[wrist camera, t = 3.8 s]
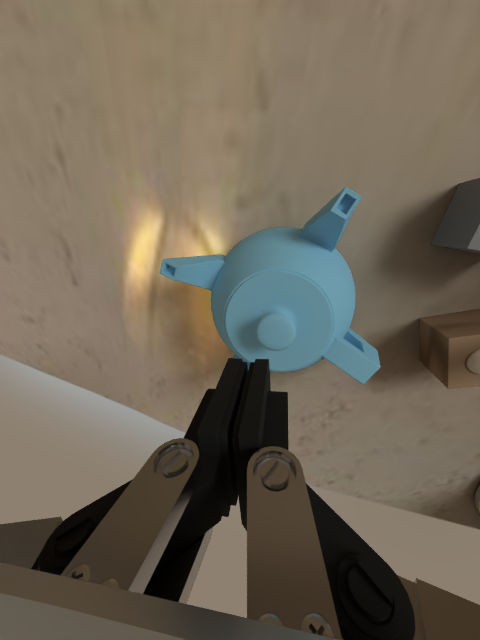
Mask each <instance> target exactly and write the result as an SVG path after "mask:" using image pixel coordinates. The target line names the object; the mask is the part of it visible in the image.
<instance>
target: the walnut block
mask: <svg viewBox="0 0 480 640" xmlns="http://www.w3.org/2000/svg"><path fill="white" fill-rule="evenodd" d="M419 329H420V361H421V362H422V363H423V364H424V365H425V366H426V367H427V368H428V369H429V370H430V371H431V372H432V373H433V374H434V375H435V376H436V377H437V378H438V379H439V380H440V381H441V382H442V383H443V384H444V385H445V386H446V387H447V388H448V389H451V388H463V387H476V386H480V310H479V309H478V310H471V311H464V312H458V313H451V314H444V315H437V316H431V317H424V318H419Z"/></svg>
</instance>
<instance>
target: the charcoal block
mask: <svg viewBox="0 0 480 640" xmlns="http://www.w3.org/2000/svg"><path fill="white" fill-rule="evenodd" d="M431 245H435V246H440V247H445V248H451V249H456V250H461V251H467V252H472V253H477V254H480V178H478V179H474V180H471V181H467V182H463V183H460V184H459V185H458V187H457V189H456V191H455V193H454V196H453V198H452V200H451V202H450V204H449V206H448V208H447V211H446V213H445V215H444V217H443V219H442V221H441V223H440V226H439V228H438V230H437V232H436V234H435V236H434V238H433V241H432V243H431Z"/></svg>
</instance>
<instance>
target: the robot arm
mask: <svg viewBox="0 0 480 640" xmlns="http://www.w3.org/2000/svg"><path fill="white" fill-rule="evenodd" d="M238 495H239V503H240V511H241V520H242V524H243V526H244V528H245V529H246V531H247V618H244V617H239V616H235V615H231V614H227V613H222V612H217V611H213V610H209V609H205V608H200V607H196V606H192V605H187V604H186V603H187V601H188V598H189V595H190V593H191V590H192V587H193V584H194V582H195V579H196V576H197V574H198V571H199V568H200V565H201V562H202V560H203V557H204V555H205V552H206V549H207V547H208V544H209V541H210V538H211V534H212V530H213V526H215V525H216V524H217V523H218V522H219V521H221V517H222V516H226V517H228V516H229V511H230V506H231V505H236V503H237V499H238ZM475 506H476V508H477V510H478V512H479V513H480V485H479V487H478V489H477V491H476V494H475ZM0 640H480V605H478V604H476V603H474V602H471V601H469V600H467V599H464V598H462V597H460V596H457V595H455V594H452V593H450V592H448V591H445V590H443V589H441V588H438V587H436V586H434V585H431V584H429V583H426V582H424V581H422V580H419V579H417V578H416V580H415V583H414V582H412V581H409V580H407V579H405V578H402V577H400V576H398V575H396V573H394V571H393V570H392V569H391V568H390V566H389V565H388V564H387V563H386V562H385V561H384V560H383V559H382V558H381V557H380V556H379V555H378V554H377V553H376V552H375V551H374V550H373V549H372V548H371V547H370V546H369V545H368V544H367V543H366V542H365V541H364V540H363V539H362V538H361V537H360V536H359V535H358V534H357V533H356V532H355V531H354V530H353V529H352V528H350V526H349V525H348V524H347V523H345V521H343V519H341V518H340V516H338V515H337V514H336V513H335V512H334V511H333V510H332V509H331V508H330V507H329V506H328V505H327V504H326V503H325V502H324V501H323V500H322V499H321V498H320V497H319V496H318V495H317V494H316V493H315V492H314V491H313V490H312V489H311V488H310V487H309V486H308V485H307V484H306V482H305V478H304V474H303V469H302V467H301V464H300V462H299V460H298V459H297V458H296V456H295V455H294V454H293V453H291V452H290V451H288V392H274V391H271V390H270V368H269V359H255V362H250V366H249V369H248V365H247V362H243V360H242V359H239V358H229V359H228V361H227V363H226V366H225V368H224V370H223V373H222V375H221V377H220V380H219V382H218V384H217V387H216V389H208V390H207V391H206V393H205V395H204V397H203V399H202V401H201V403H200V405H199V407H198V409H197V412H196V414H195V416H194V418H193V420H192V422H191V424H190V426H189V428H188V430H187V432H186V434H185V436H184V439H183V438H179V439H173V440H171V441H168V442H166V443H164V444H163V445H161V446H160V447H158V448H157V449H156V450H155V451H154V452H153V454H152V455H151V456H150V458H149V459H148V460H147V462H146V463H145V464H144V466H143V467H142V468H141V469H140V471H139V472H138V474H137V475H136V476H135V478H134V479H133V480H131V481H129V482H127V483H126V484H124V485H122V486H120V487H119V488H117V489H115V490H113V491H112V492H110V493H108V494H107V495H105V496H103V497H101V498H100V499H98V500H96V501H94V502H93V503H91V504H89V505H87V506H86V507H84V508H82V509H80V510H79V511H77V512H75V513H74V514H72V515H71V516H70V517H68V518H67V519H65V520H64V521H63V520H62V518H61V517H55V518H48V519H39V520H31V521H23V522H15V523H8V524H0Z"/></svg>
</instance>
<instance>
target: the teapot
mask: <svg viewBox="0 0 480 640" xmlns="http://www.w3.org/2000/svg"><path fill="white" fill-rule="evenodd" d="M361 198H362V196H360V195H358V194H357V193H355V192H354V191H352V190H350V189H349V188H347V187H345V188H344V189H343V190H342V191H341V192H340V193H338V194H337V195H336V196H335V197H334V198H333V199H332V200H331V201H330V202H329V203H328V204H326V205H325V206H324V207H323V208H322V209H321V210H320V211H319V212H318V213H317V214H316V215H314V216H313V217H312V218H311V219H310V220H309V221H308V222H307V223H306V224H305V226H304V228H303V229H298V228H291V227H276V228H270V229H266V230H262V231H259V232H257V233H255V234H252V235H250V236H248V237H247V238H245V239H244V240H242V241H241V242H239V243H238V244H237V245H236V246H235V247H234V248H233V249H232V250H231V251H230V252H229V253H228V254H227V256H224V255H209V256H196V257H183V258H170V259H163V261H162V265H161V269H160V274H162V275H164V276H166V277H168V278H170V279H172V280H174V281H180V282H184V283H187V284H191V285H195V286H198V287H202V288H205V289H209V290H211V291H212V293H211V309H212V314H213V319H214V323H215V326H216V328H217V330H218V333H219V335H220V336H221V338H222V339H223V341H224V342H225V344H226V345H227V346H228V347H229V348H230V350H231V351H233V352H234V353H235V356H234V358H239V359H242V360H243V362H247V365H248V369H249V366H250V362H255V359H269V368H270V371H272V372H290V371H296V370H300V369H304V368H306V367H309V366H311V365H313V364H315V363H317V362H319V361H320V360H322V359H323V358H325V359H327V360H328V361H330V362H331V363H333V364H334V365H336V366H337V367H338V368H340V369H341V370H343V371H344V372H346V373H347V374H349V375H350V376H351V377H353V378H354V379H356V380H357V381H359V382H360V383H362V384H364V383H365V382H366V381H367V380H368V379H369V378H370V377H371V376H372V375H373V374H374V373H375V372H377V371H378V370H379V369H380V368H381V367H380V361H379V356H378V351H377V350H376V349H375V348H374V347H373V346H371V345H370V344H369V343H368V342H366V341H365V340H364V339H363V338H361V337H360V336H359V335H358V334H356V333H355V332H354V331H353V330H352V329H350V328H349V326H350V324H351V322H352V318H353V315H354V309H355V286H354V281H353V277H352V274H351V271H350V269H349V267H348V265H347V263H346V261H345V260H344V258H343V257H342V255H341V254H340V253H339V252H338V251H337V250H336V248H335V247H336V245H337V243H338V241H339V239H340V237H341V235H342V233H343V231H344V229H345V227H346V226H347V224H348V222H349V220H350V218H351V216H352V214H353V212H354V210H355V208H356V206H357V204H358V203H359V201H360V200H361Z"/></svg>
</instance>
